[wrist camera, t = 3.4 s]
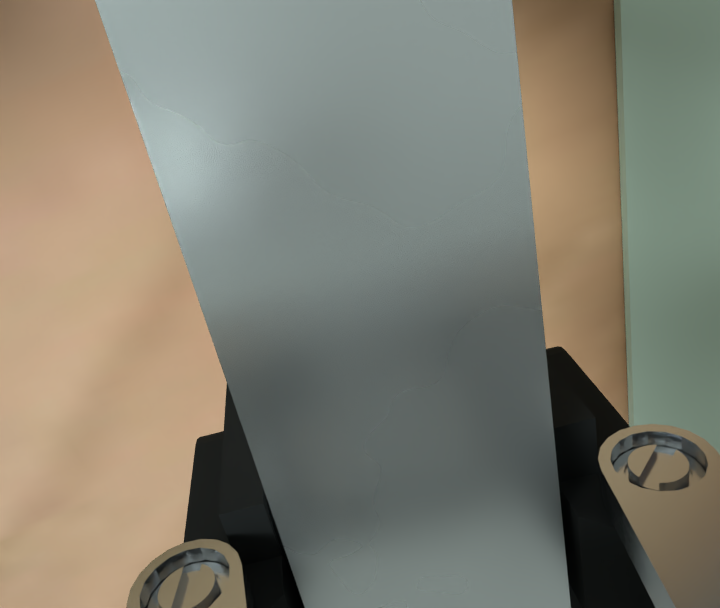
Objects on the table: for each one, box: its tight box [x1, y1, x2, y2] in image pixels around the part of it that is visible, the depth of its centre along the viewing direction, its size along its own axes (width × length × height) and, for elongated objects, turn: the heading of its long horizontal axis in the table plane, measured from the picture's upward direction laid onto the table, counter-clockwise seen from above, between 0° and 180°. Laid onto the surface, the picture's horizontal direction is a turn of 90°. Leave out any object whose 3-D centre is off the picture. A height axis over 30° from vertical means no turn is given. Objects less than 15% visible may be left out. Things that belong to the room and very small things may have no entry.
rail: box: [95, 0, 571, 608], centre depth 9 cm, size 24×3×3 cm, turn 12°
